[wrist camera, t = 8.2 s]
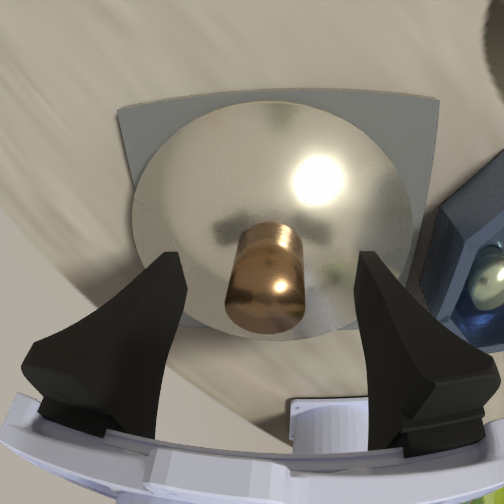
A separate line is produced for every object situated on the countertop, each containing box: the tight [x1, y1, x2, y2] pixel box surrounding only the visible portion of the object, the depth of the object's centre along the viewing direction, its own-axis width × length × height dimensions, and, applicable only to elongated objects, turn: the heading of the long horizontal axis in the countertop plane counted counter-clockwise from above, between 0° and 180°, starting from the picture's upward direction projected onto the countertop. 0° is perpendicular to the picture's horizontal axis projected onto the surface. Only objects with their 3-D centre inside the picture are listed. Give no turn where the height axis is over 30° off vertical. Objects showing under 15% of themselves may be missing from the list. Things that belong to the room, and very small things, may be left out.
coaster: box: [117, 88, 440, 330], centre depth 15 cm, size 13×13×1 cm
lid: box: [132, 100, 413, 341], centre depth 13 cm, size 12×12×4 cm
